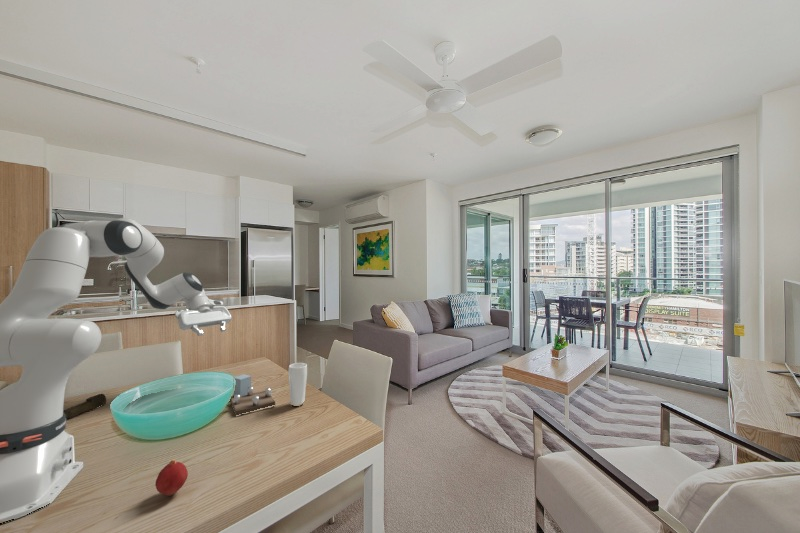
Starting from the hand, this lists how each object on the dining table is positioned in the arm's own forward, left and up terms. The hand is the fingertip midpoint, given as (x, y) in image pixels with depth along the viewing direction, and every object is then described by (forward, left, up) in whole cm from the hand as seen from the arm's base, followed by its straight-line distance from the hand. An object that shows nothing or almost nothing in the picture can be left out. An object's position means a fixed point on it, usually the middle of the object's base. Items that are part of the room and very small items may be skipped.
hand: (212, 332), depth 127 cm
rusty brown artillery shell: (+3, +40, -25) cm, 47 cm away
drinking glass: (-33, -26, -25) cm, 49 cm away
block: (-13, -10, -25) cm, 30 cm away
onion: (-63, +12, -25) cm, 69 cm away
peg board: (-24, -12, -25) cm, 36 cm away
